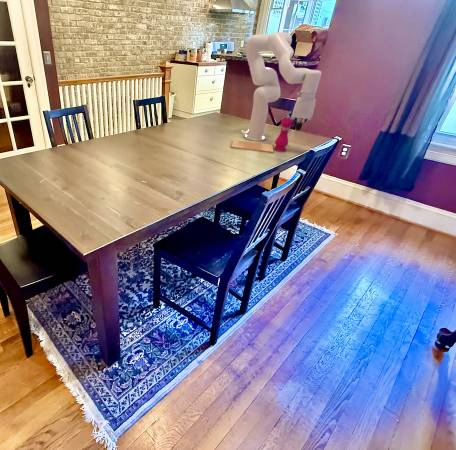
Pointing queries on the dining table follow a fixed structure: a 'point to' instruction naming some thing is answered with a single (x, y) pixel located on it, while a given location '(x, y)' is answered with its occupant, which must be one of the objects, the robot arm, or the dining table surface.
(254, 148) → the cork mat
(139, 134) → the dining table surface
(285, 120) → the pepper mill
